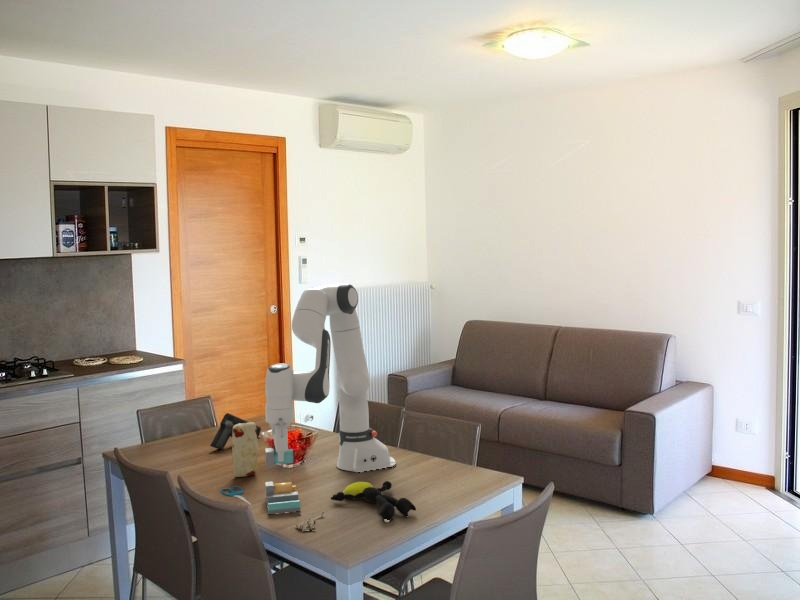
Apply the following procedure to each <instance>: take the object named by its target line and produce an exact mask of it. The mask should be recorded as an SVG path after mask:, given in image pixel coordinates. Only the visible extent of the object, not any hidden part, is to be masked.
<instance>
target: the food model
mask: <svg viewBox="0 0 800 600" xmlns="http://www.w3.org/2000/svg"><path fill="white" fill-rule="evenodd" d="M247 422H248V423H239V424H236V425H234V426H233V434H232V437H231V438H232V439H231V440H232V441H231V452H232V453H231V454H232V466H233V469H232V470H233V476H234V477H236V478H237V477H238V478H239V477H240V478H241V477H242V478H243V477H249V476H254V475H256V473H257V468H258V458H259V438H257V430H256V426H257V425H256V422H252V421H247Z"/></svg>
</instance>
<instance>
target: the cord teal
mask: <svg viewBox="0 0 800 600" xmlns="http://www.w3.org/2000/svg"><path fill="white" fill-rule="evenodd" d="M264 450H265V453H264V454H265V461H264V463H265V467H275V465H283V464H293V463H294V449H293V448H288V451H287V452H284V461H283V462H279V461H278V453H277V452H276V449H275V448H274V447H269V448H268V447H266V448H265V449H264Z"/></svg>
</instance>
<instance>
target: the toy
mask: <svg viewBox="0 0 800 600" xmlns="http://www.w3.org/2000/svg"><path fill="white" fill-rule="evenodd" d="M392 486H393V485H392V483H391V481H387V480H385V481H383V483H382V487H378V488H377V487H374V486H373V485H372V484H371V483H370V482H366V481H355V482H352V483H350V484H349V485H347V486H346V487H345V488H344V490H343V492H342V491H338V492H337V493H335V494H333V495H332V496H331V497H330V500H332V501H337V502H343V501H344V500H347V501H352V500H361V499H364V500H365V501H366V502H368V503H372V504H378V505H379V507H380V508H379V511H378V516H379V517H381V518H382V520H383V519H387V520H390V519H391V520H392V519H393V517H394V515H395V512H396V511H398V512H399V513H400V514H401V515H403V516H404V517H405V516H408V515H409V512H410V511H416V510H417V507H416V506H415V505H414V504H413V503H412V502H411V500H409V499H408V498H406V497H400V498H399V499H397V498H395V497H393V496H390V495H388V494H383V493H384V492H385V491H389V490H390V489H392ZM382 492H383V493H382Z"/></svg>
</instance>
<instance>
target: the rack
mask: <svg viewBox="0 0 800 600" xmlns="http://www.w3.org/2000/svg"><path fill="white" fill-rule="evenodd" d="M265 502H266V507H267V508H268V509H267V508H266V509H267V513H268V514H275V515H277V514H276V513H284V514H286V513H285V512H294V513H296V512H295V511H300V512H301V500H299V491H297V485H292V492H289V493H279V494H269V495H267V500H266V499H265Z"/></svg>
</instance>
